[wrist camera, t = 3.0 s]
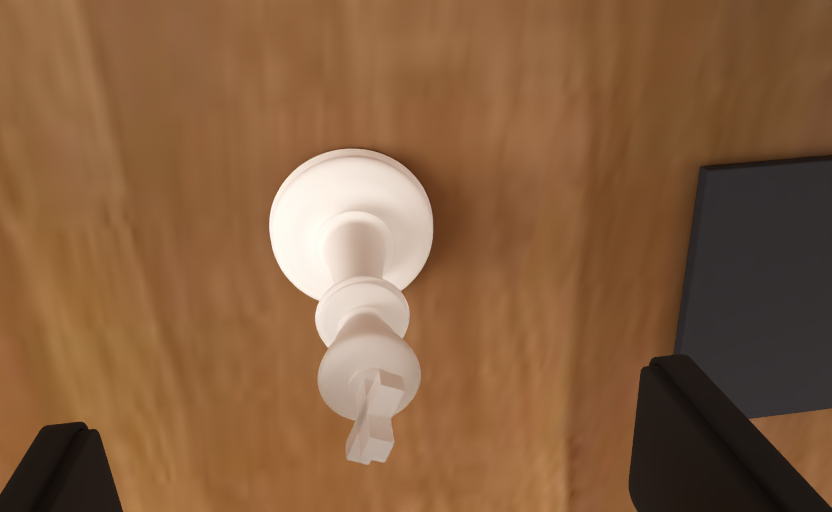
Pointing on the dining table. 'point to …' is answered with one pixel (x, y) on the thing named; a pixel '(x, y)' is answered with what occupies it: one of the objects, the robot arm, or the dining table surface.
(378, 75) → the dining table surface
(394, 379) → the chess piece
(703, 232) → the coaster
